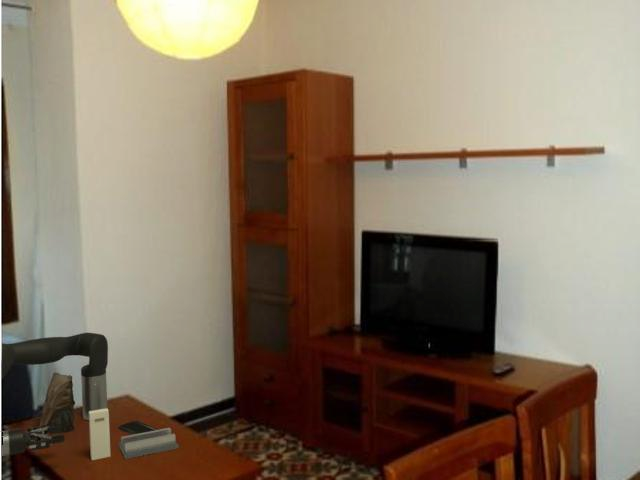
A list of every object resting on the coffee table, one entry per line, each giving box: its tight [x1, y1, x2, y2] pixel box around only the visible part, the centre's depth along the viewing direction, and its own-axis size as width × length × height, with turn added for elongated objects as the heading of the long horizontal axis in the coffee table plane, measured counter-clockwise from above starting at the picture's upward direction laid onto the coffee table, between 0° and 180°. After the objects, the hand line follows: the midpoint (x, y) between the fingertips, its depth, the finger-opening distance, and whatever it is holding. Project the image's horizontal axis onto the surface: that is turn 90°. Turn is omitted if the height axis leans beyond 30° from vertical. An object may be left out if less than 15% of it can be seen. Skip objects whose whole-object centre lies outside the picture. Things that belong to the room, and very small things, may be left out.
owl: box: [39, 372, 76, 435], centre depth 234 cm, size 13×13×20 cm
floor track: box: [118, 427, 180, 460], centre depth 217 cm, size 12×18×4 cm, turn 118°
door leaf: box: [88, 407, 111, 461], centre depth 209 cm, size 3×6×16 cm, turn 118°
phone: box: [118, 420, 159, 435], centre depth 232 cm, size 8×1×15 cm
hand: (62, 433), depth 203 cm, fingers open, 8 cm apart
